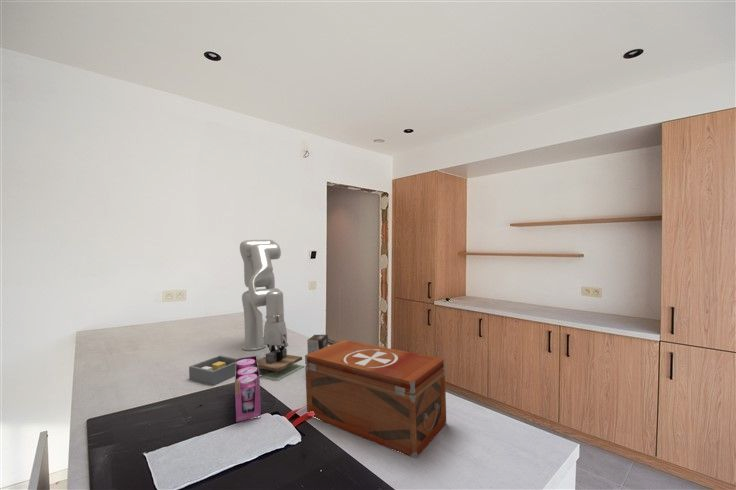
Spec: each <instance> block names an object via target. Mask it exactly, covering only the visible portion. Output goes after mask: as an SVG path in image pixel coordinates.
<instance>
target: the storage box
mask: <svg viewBox="0 0 736 490" xmlns="http://www.w3.org/2000/svg"><path fill="white" fill-rule="evenodd" d="M236 359H237V358H235V357H231V356H230V357H229V356H225V355H217V356H214V357H212V358H208V359H206V360H204V361H200V362H198V363H195V364H192V365H190V366H189V365H188V369H189V370H188V374H189V376H188V377H189V381H192V382H197V383H199V384H204V385H208V386H212V387H215V386H216V385H219V384H221V383H224V382H225V381H226V382H227V381H228V380H230V379H232V378H235V365H236ZM219 361H220V362H225V363H226V366H224V367H222V368H219V369H217V370H214V371H212V370H208V369H203V368H202V367H205V366H208V367H212V364H214V363H217V362H219Z"/></svg>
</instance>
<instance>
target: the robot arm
mask: <svg viewBox="0 0 736 490" xmlns="http://www.w3.org/2000/svg"><path fill="white" fill-rule="evenodd" d="M239 254H240V256H241V259H242V261H243V278H244V285H245V287H246V288H248V290H246V291H244V292H243V293H242V294H241V303H242V308H243V317H244V318H243V319H244V321H243V322H244V344H243V345H242V347H241V348H242V350H244V351H249V352H251V351H258V350H261V349H264V348H266V347H267V348H268V351H269V352H272V351H274V350H277V351H278V352H277V361H280V360H282V359H283V350H284V349H285V348H286V349H287V347H289V344H288V332H287V327H286V326H287V325H286V321H285V309H284V292H283V291H282V290H280V289H279V288H276V287H275V285H276V284H275V283H276V281H275V279H276V278H275V274H274V272H273V271H274V268H273V264H272V260H279V259H280V258H281V256H282V255H281V254H282V250H281V247H280V245H279V244H278V243H277V242H276V241H274V240H272V239H248V240H244V241H243V240H242V241H241V242H240V243H239ZM257 288H260V289H257ZM260 307H265V313H266V315H265V319H266V321H265V323H264V325H263V322H264V321H263V313H262V311H260V310H259V309H258V308H260ZM263 326H264V327H263Z"/></svg>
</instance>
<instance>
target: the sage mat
mask: <svg viewBox="0 0 736 490" xmlns="http://www.w3.org/2000/svg"><path fill="white" fill-rule="evenodd" d="M304 367H305V364H304V365H303V364H298V363H294V364H292V365H290V366H288V367H286V368H284V369H282V370H280V371H278V372H277V371H272V370H269V371H268V372H266V373H263V374H262V375H260V378H263V379H267V380H273V381H277V382H279V381H281V380H283V379H285V378H286V377H288V376H290V375H291V374H294V373H296V372H298V371H299V370H302V369H303V368H304Z"/></svg>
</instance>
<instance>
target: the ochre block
mask: <svg viewBox="0 0 736 490" xmlns="http://www.w3.org/2000/svg"><path fill="white" fill-rule="evenodd" d="M224 366H226V363H225V362H220V361H219V362H217V363H214V364H212V371H214V370H217V369H219V368H222V367H224Z"/></svg>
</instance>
